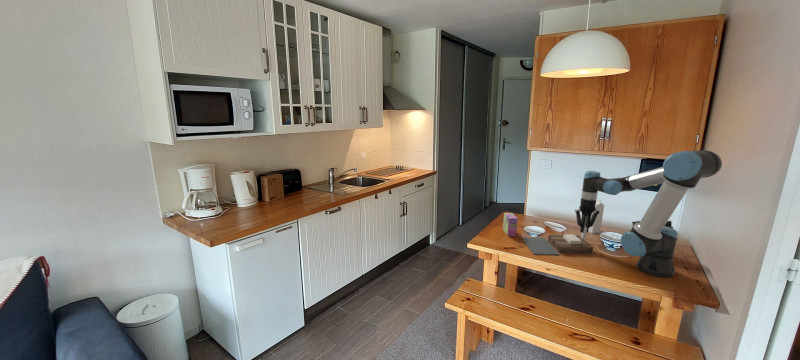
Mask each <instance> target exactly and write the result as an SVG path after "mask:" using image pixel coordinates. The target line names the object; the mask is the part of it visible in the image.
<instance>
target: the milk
mask: <svg viewBox="0 0 800 360" xmlns="http://www.w3.org/2000/svg"><path fill="white" fill-rule="evenodd" d="M595 208H596V210H598V211H599V214H598V215H597V217H596V219H595V222H594V224H593V226H592V227H590V228H589V229H588V233H590V234H601V228H602V222H603V216H604V210H605V204H603V203H602V199H598V198H597V199H596V206H595ZM592 214H593V213H592ZM591 217H592V215H591ZM590 219H591V218H590Z"/></svg>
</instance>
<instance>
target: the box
mask: <svg viewBox="0 0 800 360" xmlns="http://www.w3.org/2000/svg"><path fill="white" fill-rule="evenodd" d="M518 219H519V218H518V217H517V216H516V215H515V214H514V213H513V212H504V213H503V222H502V230H503V232H504V233H505V234H506V236H509V237H510V236H511V237H516V236H517V230H518V222H519V221H518Z"/></svg>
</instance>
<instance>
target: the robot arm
mask: <svg viewBox="0 0 800 360" xmlns="http://www.w3.org/2000/svg"><path fill="white" fill-rule="evenodd" d="M722 165H723V162H722V159H721V157H720V155H719V154H717V153H716V152H714V151H711V150H707V149H706V150H705V149H701V150H682V151H678V152H673V153H671V154H670V155H669V156H667V157H666V158H665V160H664V161H663V164H662V166H661V167H658V168H654V169H650V170H646V171H643V172H638V173H636V174H632V175H627V176H623V177H615V178H614V177H613V178H606V177H602V176H601V173H600V171H596V170H587V171H585V172H584V176H583V181H582V182H583V183H582V190H581V198H580V203H579V204H580V205H579V208H577V209H574V212H575V215H576V216H575V217H576V224H577V226H578V227H580V229H579V232H580V236H581V237H582V238H583V239H584V240H586V237H587V233H589V232H588V229H589V228H590V227H592V226H593V224H594V222H595V219H596V217H597V215H598V214H599V211H598V210H596V208H595V206H596V199H598V192H601V193H604V194H607V195H611V196H617V195H618V194H620V193H623V192H632V191H636V190H638V189H642V188H647V187H652V186H656V185H661V186H660V188H659V189H658V191H657V193H656V194H655V196H654V198H653V200H651V203H650V204H649V206H648V208H647V209H646V211H645V213H644V215H643V217H642V218H641V219H640V220H639V221H640V223H635V224H634V225H633V224H632V227H631V229H630V231H626V232H624V233H623V234H622V235H621V236H620V245H621V246H622V249H623V251H624V252H625V253H626V254H628V255H630V256H632V257H639V258H638V260H637V261H636V268H637V269H638V270H640V271H641V272H643V273H645V274H648V275H651V276H655V277H660V278H672V277H674V275H675V265H674V261H673V257H674V253H675V249H676V246H677V245H676V244H677V241H678V235H679V234H678V231H677V230H676V229H675V228H673V229H672V228H670V227H667V226H665V224H666V223H667V221H670V218H671V217H672V215H673V214H674V212H675V211H676V209H677V208H678V206H679V204H680V203H681V201H682V200H683V198H684V196H685V195H686V193H688V191H689V190H691V189H694V188H696V186H697V185H698V183H699V181H700V180H701V179H706V178H710V177H713V176H714V175H717V174H718V173H719V172H720V170H721V169H722ZM592 213H593V214H592ZM591 215H592V217H591ZM590 218H591V219H590Z"/></svg>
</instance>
